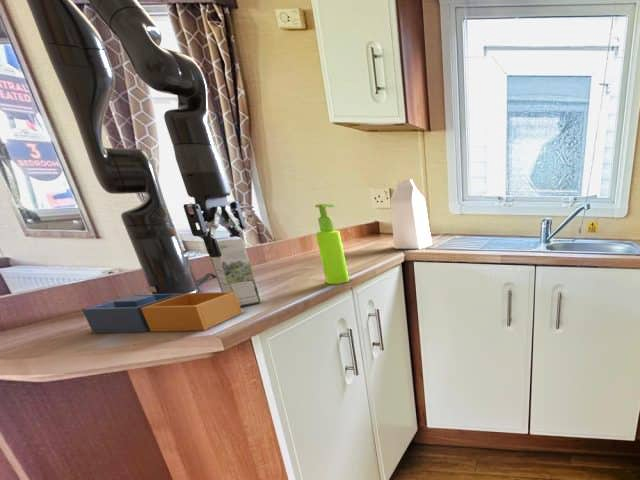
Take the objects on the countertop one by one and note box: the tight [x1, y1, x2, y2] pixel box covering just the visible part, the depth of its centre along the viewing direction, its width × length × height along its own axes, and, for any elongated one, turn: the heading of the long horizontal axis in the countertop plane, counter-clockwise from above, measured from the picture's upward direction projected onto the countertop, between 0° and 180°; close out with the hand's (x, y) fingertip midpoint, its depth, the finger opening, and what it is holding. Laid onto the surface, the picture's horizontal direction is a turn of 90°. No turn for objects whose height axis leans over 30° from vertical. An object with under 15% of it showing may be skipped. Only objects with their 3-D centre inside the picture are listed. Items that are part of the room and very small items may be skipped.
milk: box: [389, 179, 433, 250], centre depth 177 cm, size 12×12×26 cm
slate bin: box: [81, 293, 183, 334], centre depth 84 cm, size 12×11×5 cm
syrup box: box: [209, 236, 262, 307], centre depth 94 cm, size 6×6×14 cm
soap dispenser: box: [314, 203, 350, 285], centre depth 113 cm, size 6×7×20 cm
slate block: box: [113, 295, 156, 308], centre depth 84 cm, size 4×4×4 cm
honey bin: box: [141, 291, 243, 332], centre depth 84 cm, size 12×11×5 cm
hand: (228, 254), depth 92 cm, fingers closed on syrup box, 8 cm apart
